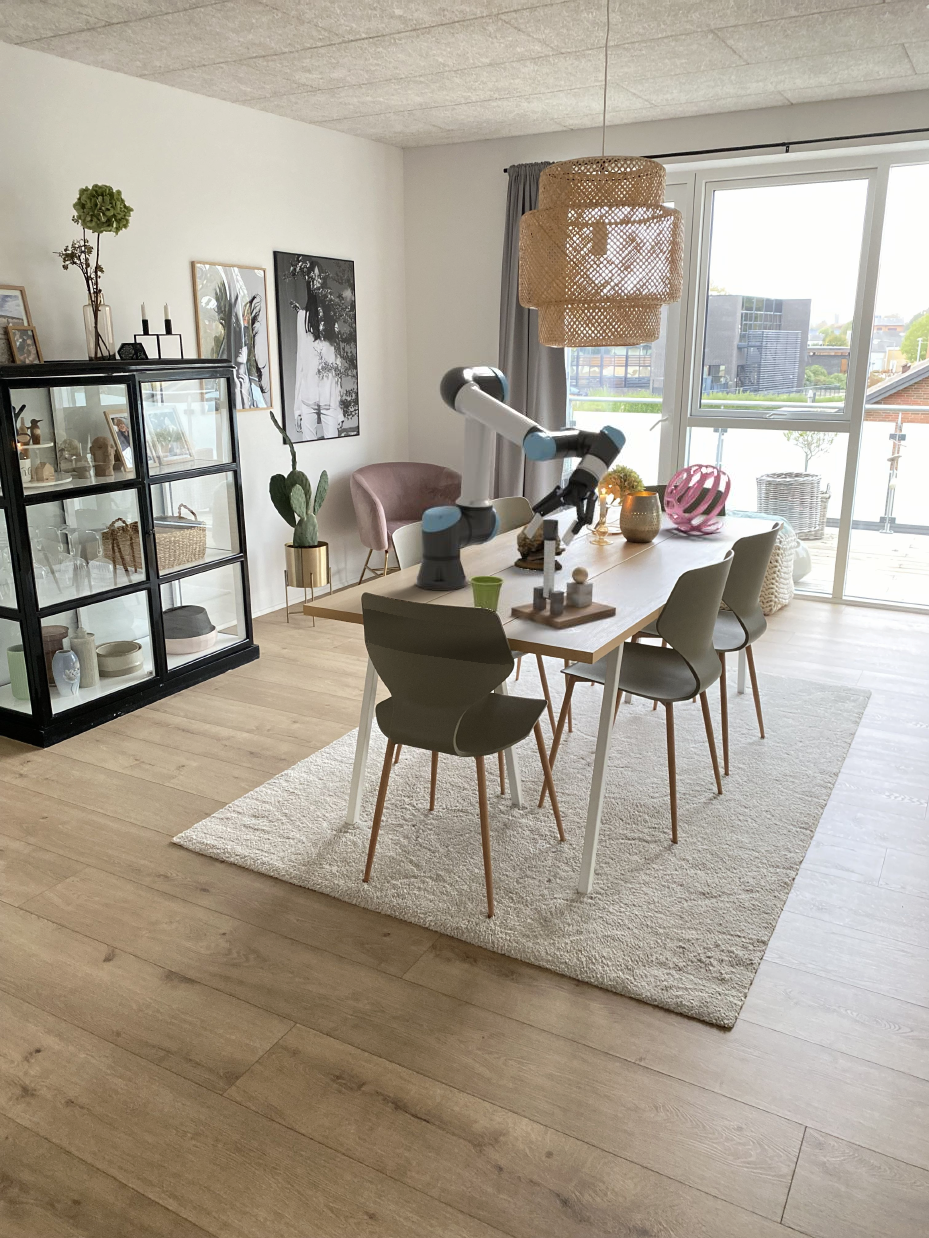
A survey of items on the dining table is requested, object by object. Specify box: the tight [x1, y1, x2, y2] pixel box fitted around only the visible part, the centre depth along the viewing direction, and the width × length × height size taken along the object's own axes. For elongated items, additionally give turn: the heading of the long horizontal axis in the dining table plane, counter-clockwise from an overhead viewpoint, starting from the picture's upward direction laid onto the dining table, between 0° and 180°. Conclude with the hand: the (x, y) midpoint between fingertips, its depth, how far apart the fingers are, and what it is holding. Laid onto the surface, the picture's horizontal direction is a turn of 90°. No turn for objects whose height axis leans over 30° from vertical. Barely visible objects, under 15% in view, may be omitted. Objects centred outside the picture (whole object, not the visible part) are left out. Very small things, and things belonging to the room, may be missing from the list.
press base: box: [510, 580, 617, 630], centre depth 255 cm, size 18×22×8 cm
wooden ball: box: [571, 566, 589, 583], centre depth 257 cm, size 4×4×4 cm
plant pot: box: [469, 575, 505, 612], centre depth 260 cm, size 9×9×9 cm
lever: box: [542, 518, 559, 600], centre depth 248 cm, size 4×4×21 cm
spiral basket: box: [663, 463, 732, 535], centre depth 375 cm, size 28×28×27 cm
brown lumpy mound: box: [513, 517, 567, 572], centre depth 312 cm, size 18×12×17 cm, turn 60°
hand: (545, 539), depth 245 cm, fingers open, 13 cm apart
